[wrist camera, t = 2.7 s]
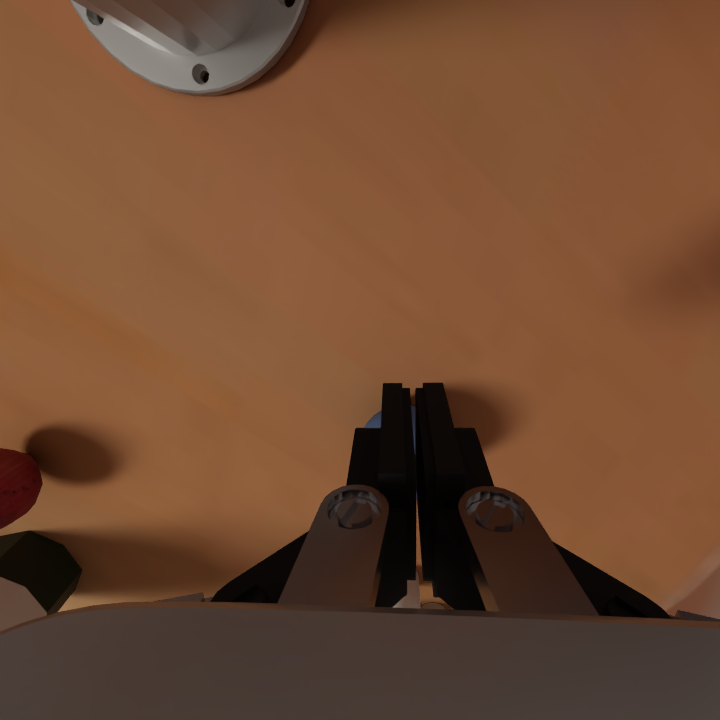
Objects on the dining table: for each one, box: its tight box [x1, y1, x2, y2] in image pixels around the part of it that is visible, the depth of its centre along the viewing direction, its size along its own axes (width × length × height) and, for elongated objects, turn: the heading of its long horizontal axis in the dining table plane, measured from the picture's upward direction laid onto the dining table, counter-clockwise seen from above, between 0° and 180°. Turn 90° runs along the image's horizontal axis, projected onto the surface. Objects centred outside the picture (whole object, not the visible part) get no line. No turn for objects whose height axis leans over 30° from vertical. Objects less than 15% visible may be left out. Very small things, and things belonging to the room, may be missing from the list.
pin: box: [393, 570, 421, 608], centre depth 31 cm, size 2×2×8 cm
